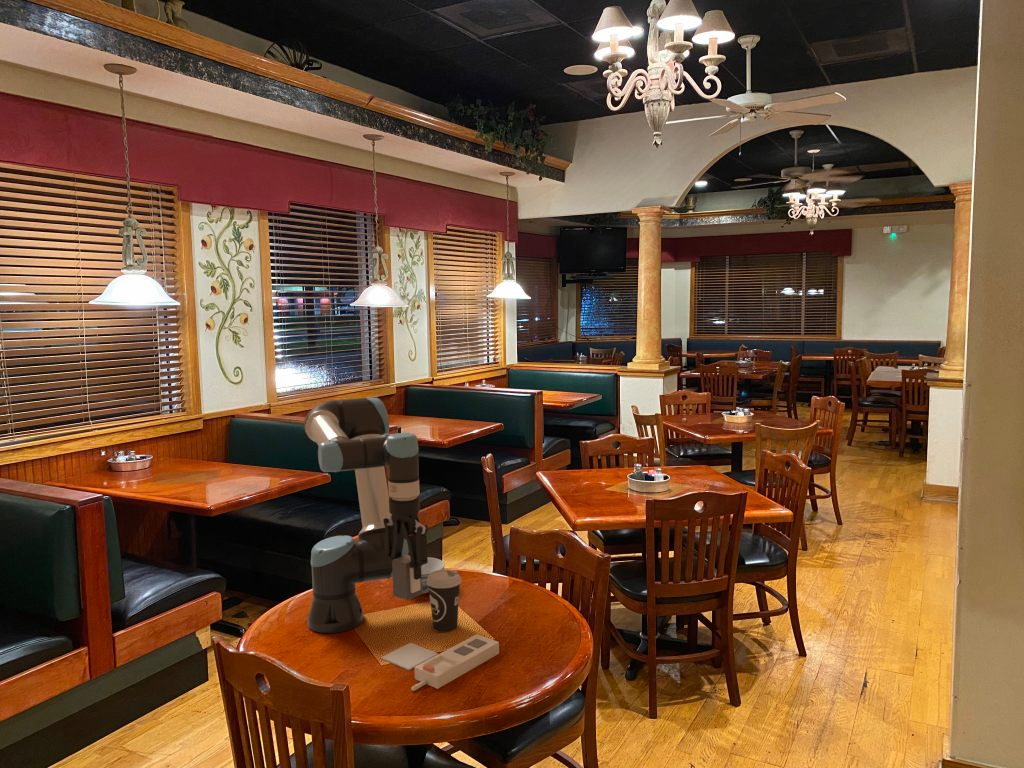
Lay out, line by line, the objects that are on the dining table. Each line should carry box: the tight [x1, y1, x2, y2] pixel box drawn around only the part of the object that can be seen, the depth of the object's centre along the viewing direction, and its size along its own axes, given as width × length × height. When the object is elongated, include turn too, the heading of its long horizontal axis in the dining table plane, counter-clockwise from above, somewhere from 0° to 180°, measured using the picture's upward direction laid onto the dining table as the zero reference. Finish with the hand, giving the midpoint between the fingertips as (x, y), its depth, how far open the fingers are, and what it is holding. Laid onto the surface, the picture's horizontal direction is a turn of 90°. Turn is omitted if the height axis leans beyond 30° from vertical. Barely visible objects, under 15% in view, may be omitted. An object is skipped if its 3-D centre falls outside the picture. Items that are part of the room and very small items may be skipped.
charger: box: [392, 554, 423, 601], centre depth 189 cm, size 5×5×9 cm
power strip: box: [411, 634, 500, 692], centre depth 184 cm, size 26×8×4 cm, turn 141°
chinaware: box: [421, 556, 445, 594], centre depth 235 cm, size 15×15×8 cm
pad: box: [380, 642, 439, 671], centre depth 192 cm, size 10×10×1 cm
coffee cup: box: [426, 568, 463, 633], centre depth 208 cm, size 10×10×15 cm
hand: (407, 588), depth 189 cm, fingers closed on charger, 5 cm apart
